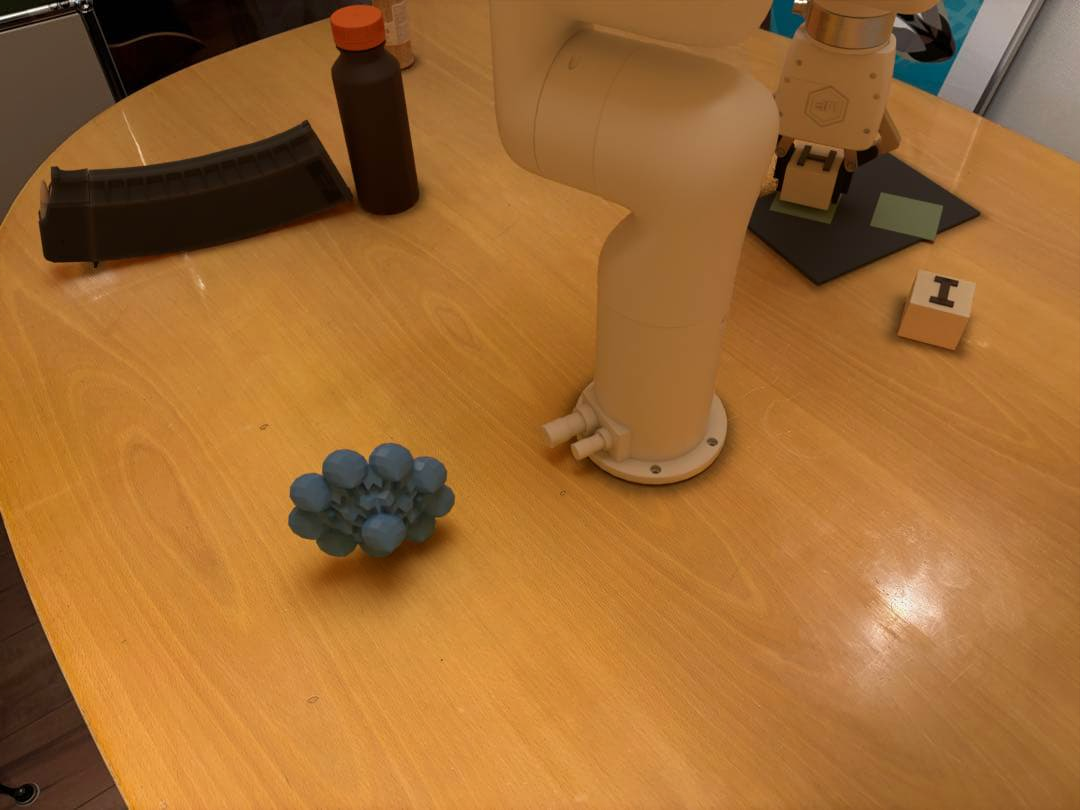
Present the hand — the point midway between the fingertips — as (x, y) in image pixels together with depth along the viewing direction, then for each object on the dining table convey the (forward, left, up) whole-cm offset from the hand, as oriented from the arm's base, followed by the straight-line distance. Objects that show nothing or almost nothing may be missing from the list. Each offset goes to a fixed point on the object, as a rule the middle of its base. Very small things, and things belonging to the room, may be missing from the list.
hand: (809, 189), depth 92 cm
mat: (+3, -4, -2) cm, 5 cm away
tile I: (-3, -21, -2) cm, 21 cm away
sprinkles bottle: (-25, +52, -2) cm, 58 cm away
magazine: (-57, +27, -2) cm, 63 cm away
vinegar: (-38, +24, -2) cm, 45 cm away
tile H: (0, 0, 0) cm, 0 cm away
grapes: (-56, -19, -2) cm, 59 cm away
